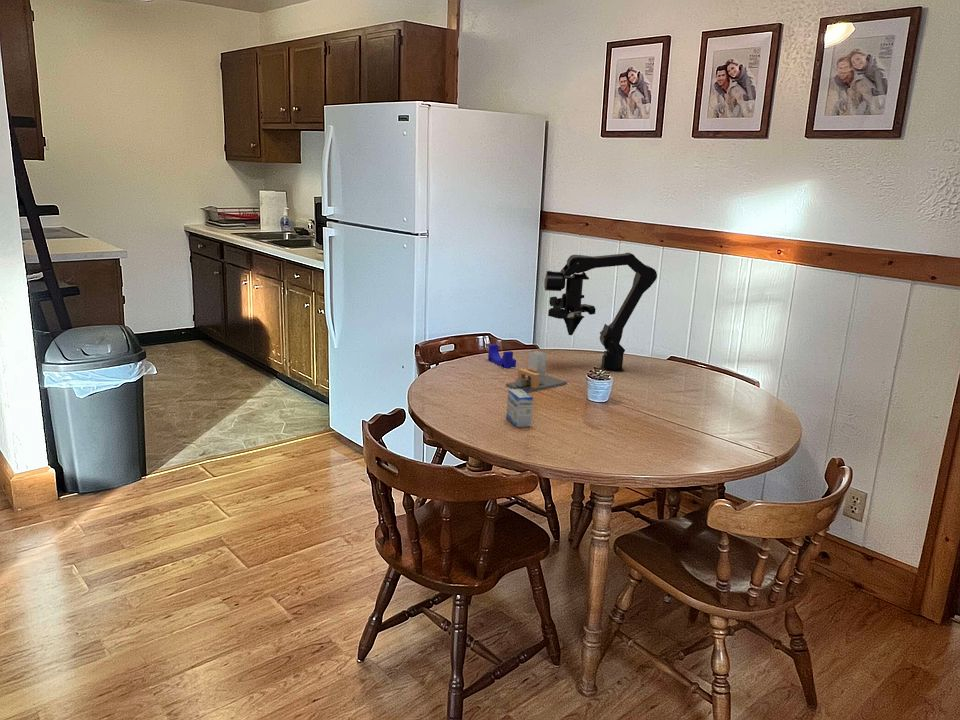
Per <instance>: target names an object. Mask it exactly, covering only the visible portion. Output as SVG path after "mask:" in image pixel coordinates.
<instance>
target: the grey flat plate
mask: <svg viewBox="0 0 960 720" xmlns="http://www.w3.org/2000/svg"><path fill="white" fill-rule="evenodd" d="M515 384H516V381H513V382H509V383H505V387H507V388H509V387H510V388H509V389H512V388H513V389H522V390H523V391H525V392H526V393H527V394H530V393H533V392H538V390H539V391H543V390H547V388H548V389H552V388H556V387H562V386H564V385H565V384H566V385H568V381H566V380H562V379H560V378H557V377H555V376H551V375H548V374H547V375H546V374H545V383H543V384H539V387H538V388H532V387H531V385H529V386H524V387H519V386H516V385H515ZM529 392H530V393H529Z"/></svg>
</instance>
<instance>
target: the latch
mask: <svg viewBox="0 0 960 720" xmlns="http://www.w3.org/2000/svg"><path fill="white" fill-rule="evenodd" d="M547 354H548V353H546V352H543V351H540V350H533V351H530V352H528V364H527V365H528V367H527V370H529V371H532V372H535V373H538V374H540V377H539V384H543V383H545V376H546V366H547ZM515 382H516V384H515V385H516V386H519V387H524V386H529V385H531V377H530V376H526V377H525V378H520V379H518V378H516V379H515Z"/></svg>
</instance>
